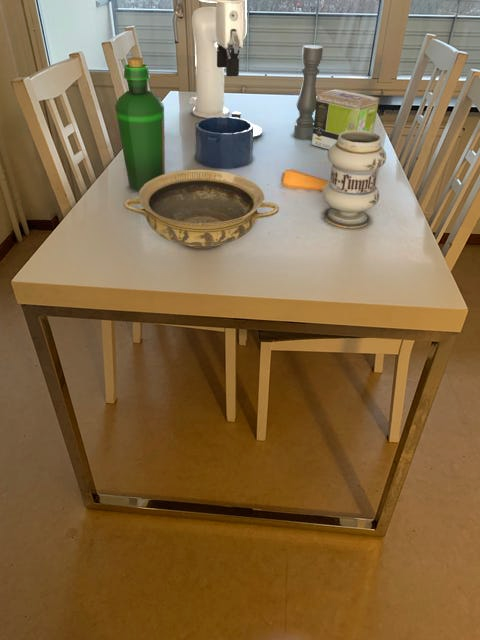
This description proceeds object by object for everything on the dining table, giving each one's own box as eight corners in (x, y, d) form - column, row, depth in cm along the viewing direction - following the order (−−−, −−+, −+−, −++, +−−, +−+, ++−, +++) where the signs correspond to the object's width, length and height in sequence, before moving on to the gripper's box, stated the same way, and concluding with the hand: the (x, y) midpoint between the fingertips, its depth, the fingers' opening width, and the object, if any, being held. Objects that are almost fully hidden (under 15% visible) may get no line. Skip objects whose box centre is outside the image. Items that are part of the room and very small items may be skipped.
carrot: (279, 190, 121) (281, 176, 117) (282, 177, 123) (284, 163, 119) (358, 205, 119) (363, 192, 115) (360, 192, 121) (365, 179, 117)
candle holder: (313, 133, 155) (323, 45, 140) (313, 139, 150) (324, 49, 135) (293, 132, 155) (302, 44, 140) (293, 138, 150) (302, 47, 135)
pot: (184, 167, 129) (182, 132, 123) (210, 143, 145) (209, 111, 139) (240, 175, 126) (241, 140, 120) (260, 149, 142) (261, 117, 136)
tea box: (370, 150, 144) (381, 97, 135) (352, 158, 138) (361, 103, 129) (329, 138, 152) (336, 87, 143) (310, 145, 146) (316, 92, 137)
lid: (201, 138, 148) (201, 117, 145) (219, 123, 161) (219, 103, 157) (254, 144, 145) (255, 123, 141) (267, 129, 158) (268, 109, 154)
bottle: (176, 182, 121) (169, 57, 104) (157, 198, 113) (146, 66, 96) (138, 175, 123) (125, 52, 106) (116, 191, 116) (99, 61, 98)
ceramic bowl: (116, 268, 89) (108, 218, 83) (139, 211, 107) (134, 167, 101) (279, 273, 89) (283, 224, 83) (273, 215, 108) (277, 171, 102)
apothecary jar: (316, 205, 112) (327, 125, 101) (368, 207, 112) (384, 127, 101) (322, 229, 103) (334, 144, 92) (378, 231, 103) (397, 147, 92)
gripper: (254, -2, 111) (250, 79, 122) (233, -10, 124) (232, 63, 135) (222, -2, 110) (222, 80, 121) (205, -11, 122) (206, 64, 133)
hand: (227, 71), depth 128 cm, fingers open, 9 cm apart
